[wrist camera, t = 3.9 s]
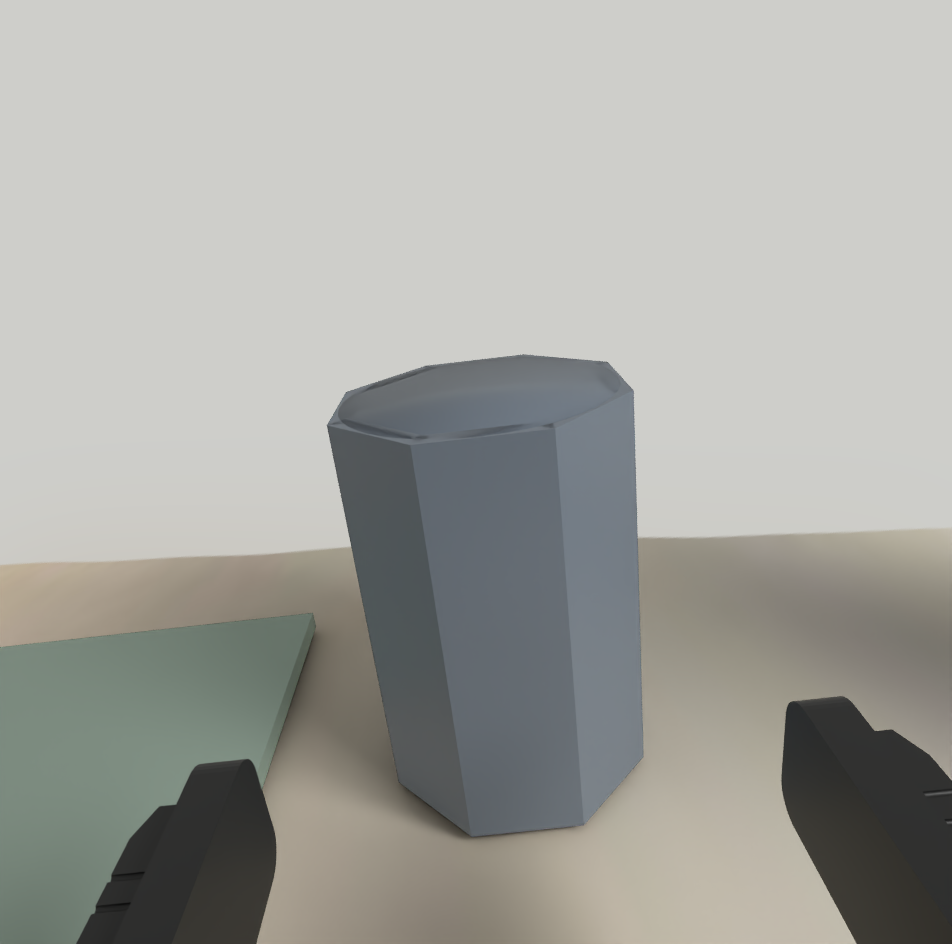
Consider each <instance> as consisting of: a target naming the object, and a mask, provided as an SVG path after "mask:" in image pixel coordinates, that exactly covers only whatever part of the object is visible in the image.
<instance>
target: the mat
mask: <svg viewBox="0 0 952 944" xmlns="http://www.w3.org/2000/svg"><path fill="white" fill-rule="evenodd" d="M315 628H316V625H315V620H314V616H313V613H308V614H299V615H290V616H280V617H271V618H262V619H253V620H244V621H235V622H226V623H217V624H207V625H198V626H189V627H180V628H171V629H162V630H153V631H144V632H135V633H125V634H116V635H107V636H98V637H89V638H80V639H71V640H62V641H52V642H43V643H34V644H25V645H16V646H7V647H0V944H76V943H77V941H78V939H79V937H80V935H81V933H82V931H83V929H84V927H85V925H86V923H87V921H88V919H89V917H90V915H91V914H94V913H95V910H96V907H95V906H96V904H97V902H98V900H99V898H100V896H101V894H102V892H103V890H104V888H105V886H106V884H107V882H110V881H111V874H112V872H113V870H114V868H115V866H116V864H117V862H118V860H119V858H120V856H121V854H122V852H123V851H124V849H125V847H126V845H127V843H128V841H129V839H130V838H131V837H132V835H133V834H134V833H135V832H136V831H137V830H138V829H139V828H140V827H141V826H142V825H143V823H144V822H145V821H146V820H147V819H148V818H149V817H150V816H151V815H152V814H153V813H154V811H155V810H156V809H157V808H158V807H159V806H166V805H176V804H177V801H178V799H179V797H180V795H181V793H182V791H183V788H184V786H185V784H186V782H187V780H188V778H189V775H190V773H191V772H192V770H193V769H194V767H195V766H197V765H198V764H204V763H213V762H222V761H232V760H241V759H250V760H251V761H252V762H253V764H254V766H255V769H256V772H257V775H258V778H259V782H260V785H261V788H263V785H264V782H265V779H266V776H267V773H268V770H269V767H270V764H271V761H272V758H273V755H274V752H275V749H276V746H277V743H278V739H279V736H280V733H281V730H282V727H283V724H284V721H285V718H286V715H287V712H288V709H289V706H290V703H291V700H292V697H293V694H294V691H295V688H296V685H297V682H298V679H299V676H300V673H301V670H302V667H303V664H304V661H305V658H306V655H307V652H308V649H309V646H310V643H311V640H312V637H313V634H314V631H315Z"/></svg>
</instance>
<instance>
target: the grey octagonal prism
mask: <svg viewBox="0 0 952 944" xmlns="http://www.w3.org/2000/svg"><path fill="white" fill-rule="evenodd" d="M327 427H328V433H329V437H330V443H331V448H332V453H333V458H334V462H335V467H336V472H337V478H338V483H339V487H340V493H341V498H342V502H343V507H344V512H345V517H346V522H347V527H348V532H349V537H350V542H351V547H352V552H353V557H354V562H355V567H356V572H357V577H358V582H359V587H360V592H361V597H362V602H363V607H364V612H365V616H366V621H367V626H368V631H369V636H370V641H371V646H372V651H373V656H374V661H375V666H376V671H377V676H378V681H379V686H380V691H381V696H382V701H383V706H384V711H385V716H386V721H387V726H388V731H389V735H390V740H391V745H392V750H393V755H394V760H395V765H396V770H397V775H398V780H399V783H401V784H402V785H403V786H405V787H406V788H407V789H409V790H410V791H411V792H413V793H414V794H415V795H417V796H418V797H419V798H421V799H422V800H423V801H425V802H426V803H427V804H429V805H430V806H431V807H433V808H434V809H435V810H437V811H438V812H439V813H441V814H442V815H443V816H445V817H446V818H447V819H449V820H450V821H451V822H453V823H454V824H455V825H457V826H458V827H459V828H461V829H462V830H463V831H465V832H466V833H467V834H469V835H470V836H471V837H475V836H484V835H494V834H504V833H513V832H523V831H533V830H542V829H552V828H562V827H571V826H581V825H584V824H585V823H586V822H587V821H588V820H589V819H590V817H591V816H592V815H593V814H594V813H595V812H596V811H597V809H598V808H599V807H600V806H601V805H602V804H603V802H604V801H605V800H606V799H607V798H608V797H609V796H610V794H611V793H612V792H613V791H614V790H615V789H616V788H617V786H618V785H619V784H620V783H621V782H622V781H623V779H624V778H625V777H626V776H627V775H628V774H629V773H630V771H631V770H632V769H633V768H634V767H635V766H636V765H637V763H638V762H639V761H640V760H641V759H642V758H643V723H642V686H641V649H640V612H639V575H638V539H637V504H636V467H635V430H634V429H635V428H634V391H633V389H632V388H631V387H630V386H629V385H628V384H627V383H626V382H625V381H624V380H623V378H622V377H621V376H620V375H619V374H618V373H617V372H616V371H615V370H614V369H613V367H612V366H611V365H610V364H609V363H608V362H601V361H591V360H579V359H567V358H556V357H545V356H534V355H516V356H507V357H499V358H491V359H482V360H473V361H464V362H456V363H447V364H439V365H430V366H424V367H421V368H418V369H415V370H412V371H409V372H406V373H403V374H400V375H397V376H394V377H391V378H388V379H385V380H382V381H378V382H375V383H372V384H370V385H366V386H363V387H360V388H357V389H354V390H351V391H348V392H346V394H345V395H344V397H343V399H342V401H341V402H340V404H339V405H338V407H337V409H336V411H335V412H334V414H333V416H332V418H331V419H330V421H329V423H328V425H327Z"/></svg>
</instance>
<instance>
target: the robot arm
mask: <svg viewBox="0 0 952 944" xmlns="http://www.w3.org/2000/svg"><path fill="white" fill-rule="evenodd" d="M782 791H783V797H784V801H785V805H786V808H787V811H788V814H789V817H790V819H791V822H792V824H793V826H794V828H795V830H796V832H797V833H798V835H799V837H800V839H801V841H802V843H803V845H804V846H805V848H806V850H807V852H808V854H809V856H810V858H811V859H812V861H813V863H814V865H815V867H816V869H817V871H818V872H819V874H820V876H821V878H822V880H823V882H824V884H825V885H826V887H827V889H828V891H829V893H830V895H831V897H832V898H833V900H834V902H835V904H836V906H837V908H838V910H839V911H840V913H841V915H842V917H843V919H844V921H845V923H846V924H847V926H848V928H849V930H850V932H851V934H852V936H853V937H854V939H855V941H856V943H857V944H952V781H951V780H950V778H949V777H948V776H947V775H946V774H945V772H944V771H943V770H942V769H941V768H940V767H939V765H938V764H937V763H936V762H935V761H934V760H933V758H932V757H931V756H930V755H929V754H927V753H926V752H924V751H923V750H921V749H920V748H918V747H917V746H915V745H914V744H913V743H911V742H910V741H908V740H907V739H905V738H904V737H902V736H901V735H899V734H898V733H896V732H895V731H893V730H883V731H874V730H873V728H872V727H871V726H870V725H869V723H868V722H867V721H866V720H865V718H864V717H863V716H862V714H861V713H860V712H859V711H858V709H857V708H856V707H855V706H854V704H853V703H852V702H851V701H850V700H849V699H847V698H845V697H842V696H839V697H830V698H821V699H811V700H802V701H793V702H790V703H789V705H788V707H787V710H786V721H785V735H784V749H783V763H782ZM275 866H276V838H275V832H274V828H273V825H272V821H271V818H270V815H269V812H268V808H267V805H266V802H265V798H264V795H263V792H262V788H261V785H260V782H259V778H258V775H257V772H256V769H255V766H254V764H253V762H252V761H251V760H250V759H241V760H232V761H222V762H213V763H204V764H198V765H197V766H195V767H194V769H193V770H192V772H191V773H190V775H189V778H188V780H187V782H186V784H185V786H184V788H183V791H182V793H181V795H180V797H179V799H178V801H177V804H176V805H166V806H159V807H158V808H157V809H156V810H155V811H154V813H153V814H152V815H151V816H150V817H149V818H148V819H147V820H146V821H145V822H144V823H143V825H142V826H141V827H140V828H139V829H138V830H137V831H136V832H135V833H134V834H133V835H132V837H131V838H130V839H129V841H128V843H127V845H126V847H125V849H124V851H123V852H122V854H121V856H120V858H119V860H118V862H117V864H116V866H115V868H114V870H113V872H112V874H111V881H110V882H107V884H106V886H105V888H104V890H103V892H102V894H101V896H100V898H99V900H98V902H97V904H96V906H95V907H96V910H95V913H94V914H91V915H90V917H89V919H88V921H87V923H86V925H85V927H84V929H83V931H82V933H81V935H80V937H79V939H78V941H77V943H76V944H256V942H257V938H258V935H259V931H260V927H261V923H262V920H263V916H264V912H265V908H266V905H267V901H268V897H269V893H270V890H271V886H272V882H273V878H274V873H275Z"/></svg>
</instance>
